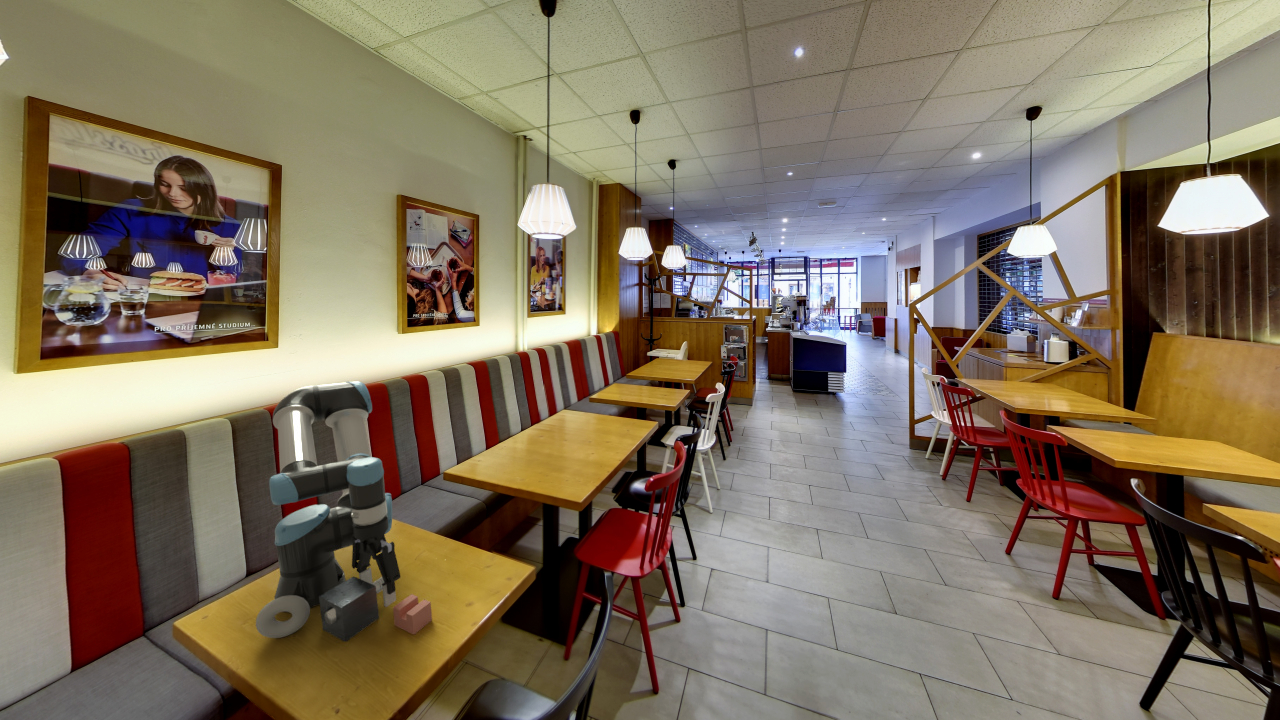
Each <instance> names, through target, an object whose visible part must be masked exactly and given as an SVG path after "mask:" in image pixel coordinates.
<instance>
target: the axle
mask: <svg viewBox="0 0 1280 720" xmlns="http://www.w3.org/2000/svg"><path fill="white" fill-rule="evenodd" d="M372 582H373V583H372V584H373V585H375V586H376V593H377V594H379V593H381V592H383V589H382V583H383V582H384V580H383V578H382V576H381V577H379V578H378V579H376V580H375V581H372ZM324 617H325V620H326V622H327V623H328V624H332V623H334V622H335V621H337V619H336V611H335V609H334V608H332V609H331V610H329V611H327V612H326V613H325V614H324Z"/></svg>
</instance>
